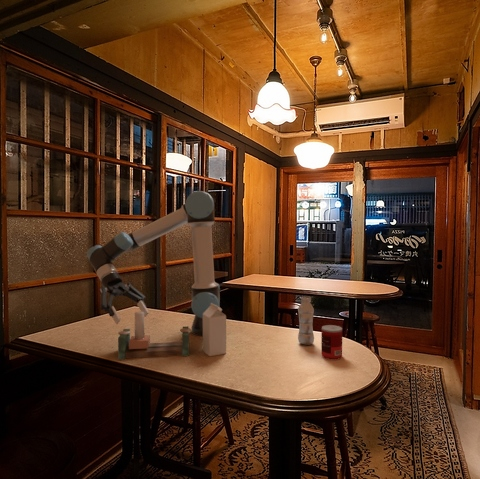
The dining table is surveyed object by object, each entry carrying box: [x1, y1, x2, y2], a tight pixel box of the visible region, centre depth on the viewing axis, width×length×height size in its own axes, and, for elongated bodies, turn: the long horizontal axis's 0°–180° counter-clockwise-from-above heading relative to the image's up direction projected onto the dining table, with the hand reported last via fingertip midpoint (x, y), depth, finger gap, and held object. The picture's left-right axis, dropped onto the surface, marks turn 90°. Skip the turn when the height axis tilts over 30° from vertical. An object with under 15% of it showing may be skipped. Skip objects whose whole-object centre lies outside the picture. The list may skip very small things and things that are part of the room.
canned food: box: [320, 324, 343, 361], centre depth 134 cm, size 8×8×11 cm
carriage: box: [129, 311, 151, 349], centre depth 138 cm, size 7×7×13 cm
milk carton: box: [202, 303, 227, 357], centre depth 138 cm, size 7×7×19 cm
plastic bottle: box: [297, 295, 315, 346], centre depth 148 cm, size 6×7×20 cm
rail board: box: [117, 326, 191, 360], centre depth 139 cm, size 28×12×8 cm, turn 99°
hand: (133, 318), depth 139 cm, fingers open, 13 cm apart
